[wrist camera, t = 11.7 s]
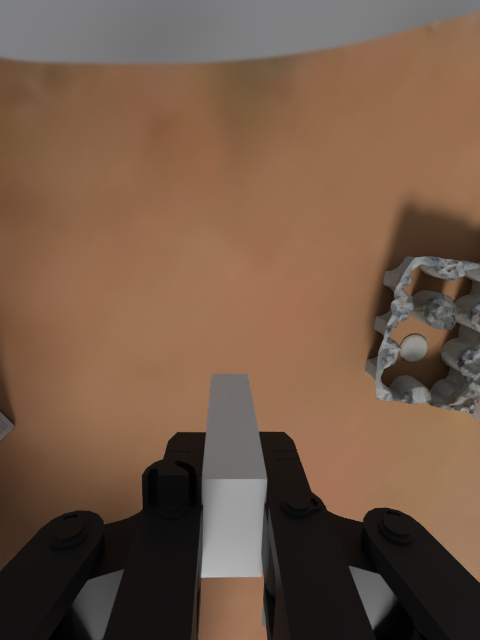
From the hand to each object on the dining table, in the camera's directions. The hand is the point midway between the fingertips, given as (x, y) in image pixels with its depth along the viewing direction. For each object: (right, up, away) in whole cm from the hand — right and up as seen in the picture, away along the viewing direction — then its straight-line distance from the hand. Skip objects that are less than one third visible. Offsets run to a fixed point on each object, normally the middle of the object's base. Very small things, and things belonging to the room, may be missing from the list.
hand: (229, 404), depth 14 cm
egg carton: (+14, +3, +12) cm, 19 cm away
